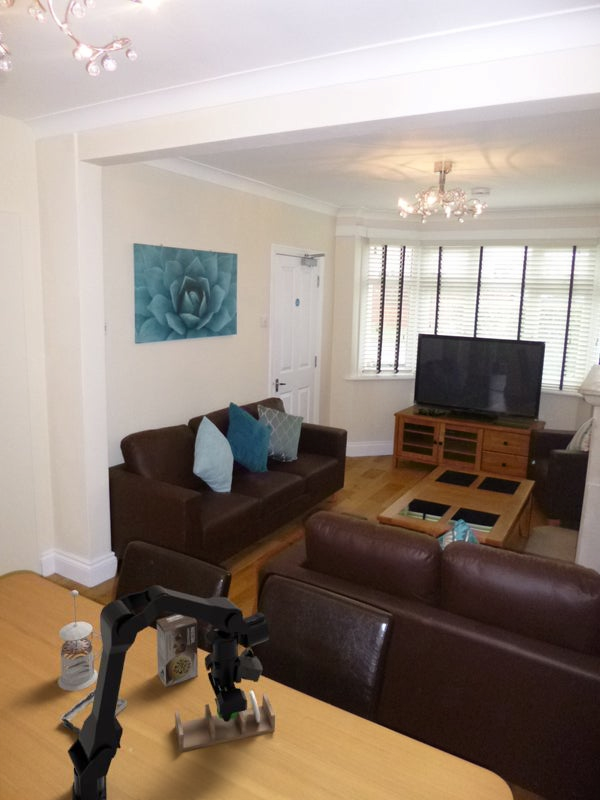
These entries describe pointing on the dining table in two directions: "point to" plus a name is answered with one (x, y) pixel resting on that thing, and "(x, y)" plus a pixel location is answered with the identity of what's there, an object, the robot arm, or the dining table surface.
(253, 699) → the saucer
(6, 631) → the dining table surface
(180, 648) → the coffee box
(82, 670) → the french press
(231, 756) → the dining table surface
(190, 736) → the rack
